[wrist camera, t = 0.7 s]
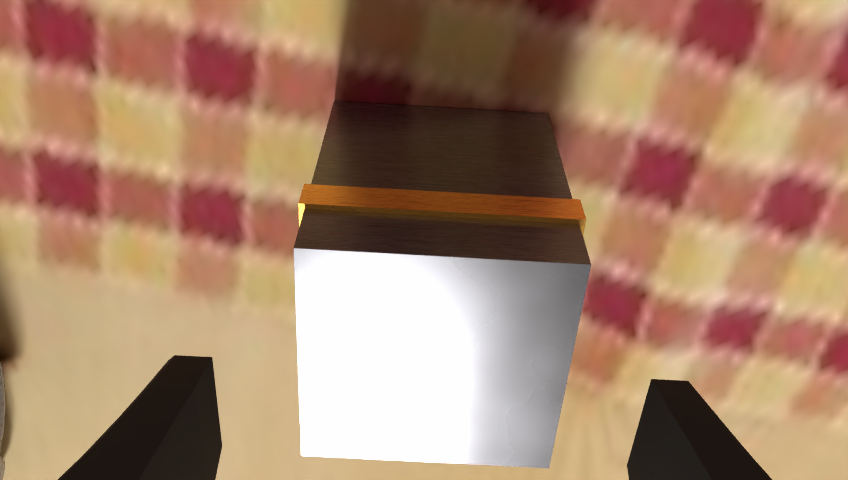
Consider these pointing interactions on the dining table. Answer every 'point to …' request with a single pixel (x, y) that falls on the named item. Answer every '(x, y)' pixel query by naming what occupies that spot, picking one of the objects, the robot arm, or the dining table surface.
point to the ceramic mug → (2, 418)
